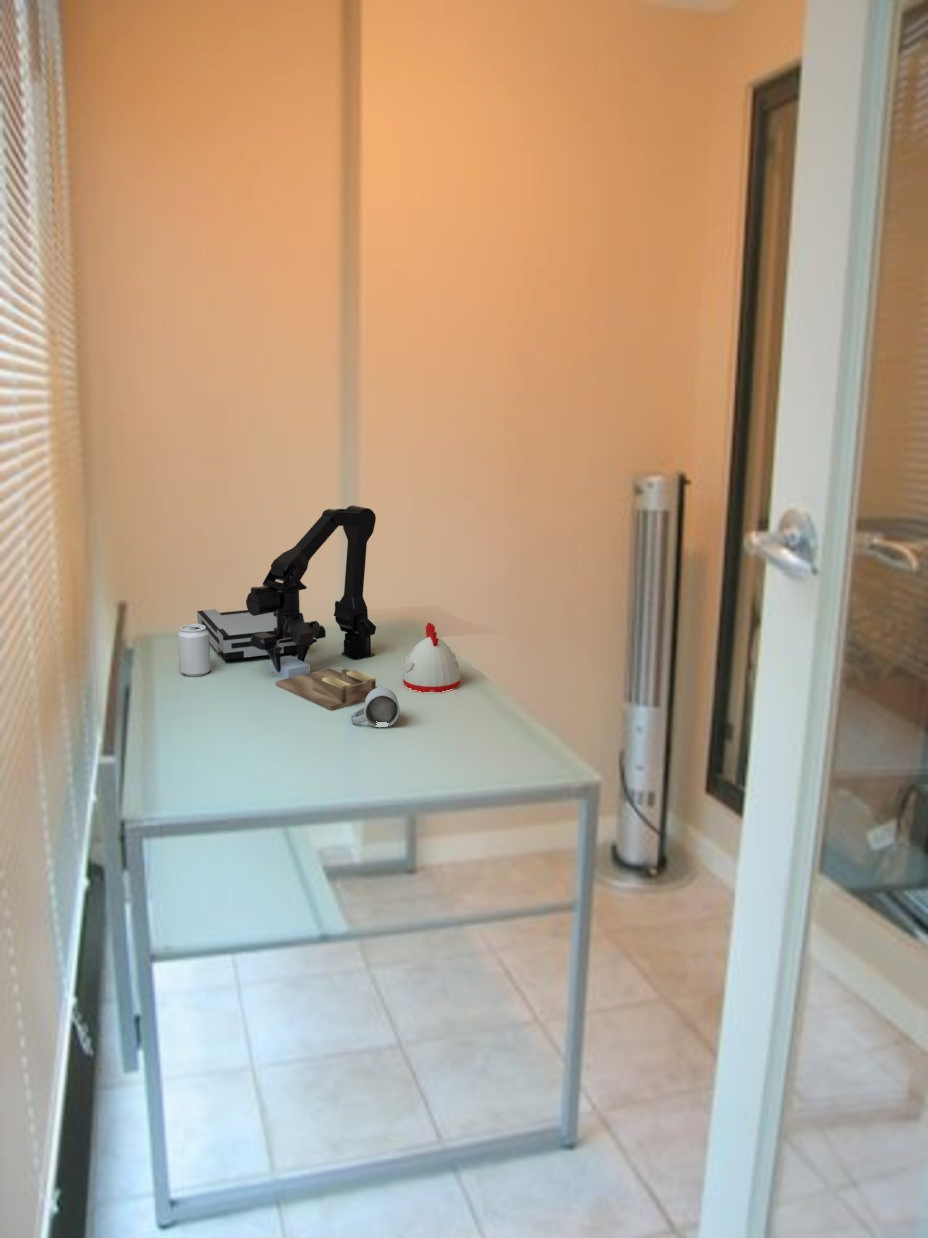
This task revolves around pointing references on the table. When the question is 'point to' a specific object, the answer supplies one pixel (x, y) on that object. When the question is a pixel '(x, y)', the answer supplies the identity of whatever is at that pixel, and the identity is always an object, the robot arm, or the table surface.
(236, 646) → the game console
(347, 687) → the board
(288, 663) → the blue-grey rectangular block
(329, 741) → the table surface
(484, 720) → the table surface
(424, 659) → the kitchen timer
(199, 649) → the can
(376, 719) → the ceramic mug
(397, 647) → the table surface
